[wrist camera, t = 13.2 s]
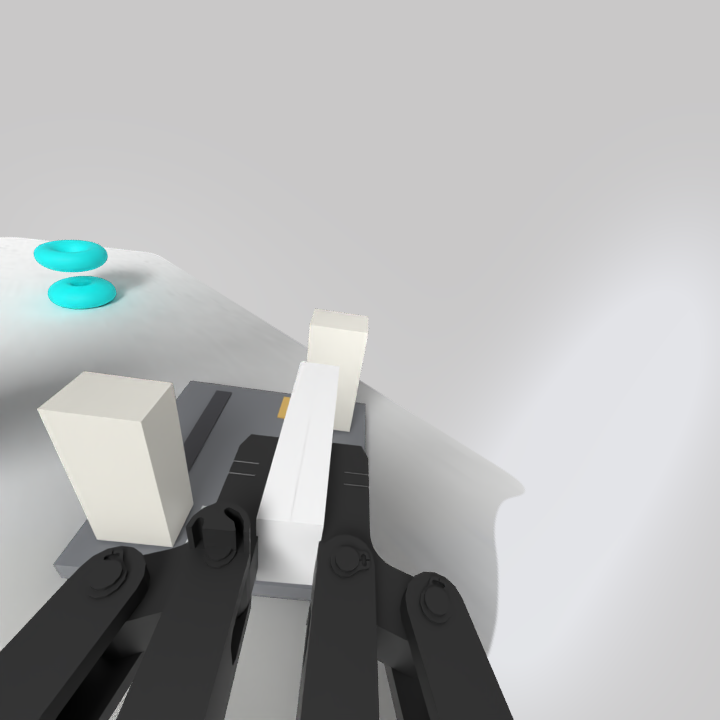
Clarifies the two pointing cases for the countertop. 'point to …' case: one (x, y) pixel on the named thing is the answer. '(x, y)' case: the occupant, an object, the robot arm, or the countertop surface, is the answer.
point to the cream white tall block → (340, 355)
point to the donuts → (76, 259)
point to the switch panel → (216, 462)
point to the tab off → (123, 455)
